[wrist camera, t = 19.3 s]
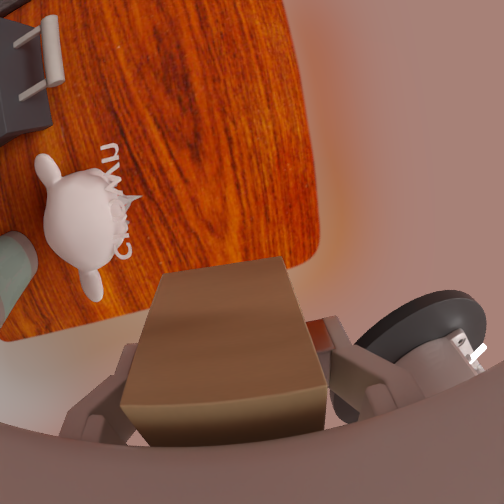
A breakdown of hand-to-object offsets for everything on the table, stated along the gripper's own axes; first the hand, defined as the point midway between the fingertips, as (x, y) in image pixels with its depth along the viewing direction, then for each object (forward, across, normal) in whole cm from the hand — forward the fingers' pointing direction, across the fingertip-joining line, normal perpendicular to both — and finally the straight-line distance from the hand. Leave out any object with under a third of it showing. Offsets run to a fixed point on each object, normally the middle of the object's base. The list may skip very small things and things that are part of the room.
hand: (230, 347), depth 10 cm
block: (+2, 0, 0) cm, 2 cm away
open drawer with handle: (+16, +17, -16) cm, 28 cm away
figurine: (+17, +11, -2) cm, 21 cm away
